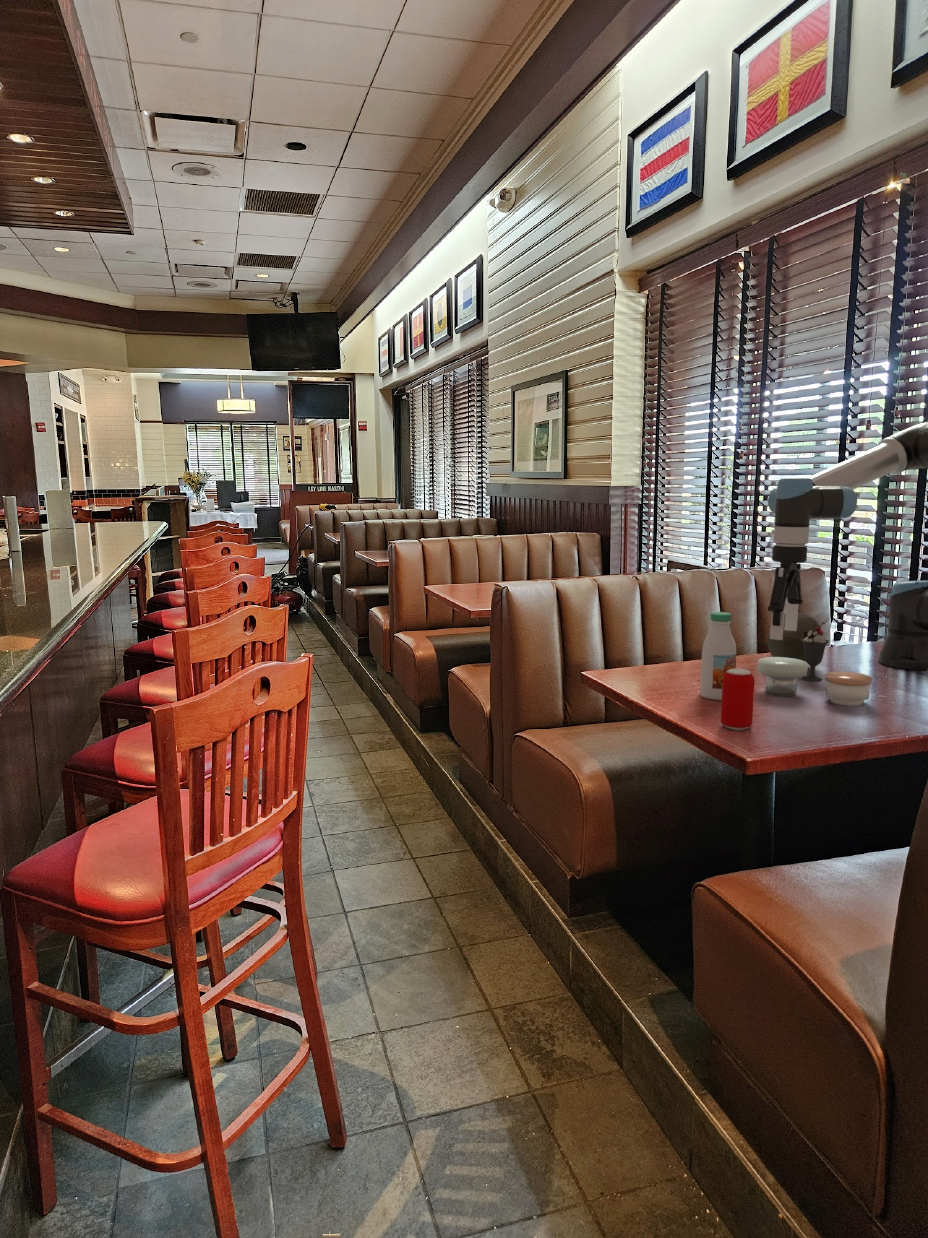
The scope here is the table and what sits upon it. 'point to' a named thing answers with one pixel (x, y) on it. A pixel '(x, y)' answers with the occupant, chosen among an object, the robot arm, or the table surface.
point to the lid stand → (781, 686)
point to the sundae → (813, 651)
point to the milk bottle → (717, 656)
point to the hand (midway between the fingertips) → (783, 634)
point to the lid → (782, 667)
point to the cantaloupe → (792, 639)
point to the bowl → (847, 688)
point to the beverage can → (737, 699)
